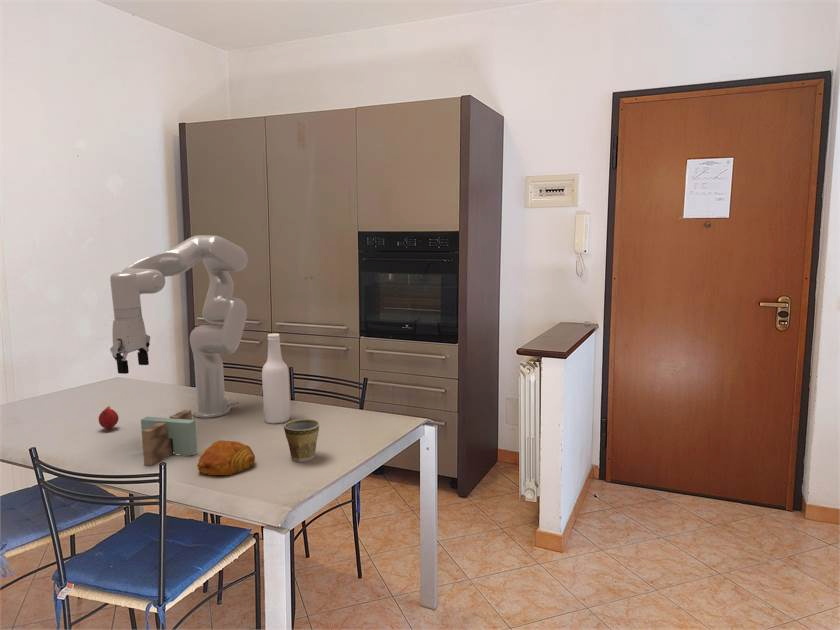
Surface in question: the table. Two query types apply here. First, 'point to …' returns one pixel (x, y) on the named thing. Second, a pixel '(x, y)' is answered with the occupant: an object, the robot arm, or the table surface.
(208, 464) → the croissant
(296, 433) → the ceramic cup
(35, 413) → the table surface
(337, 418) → the table surface
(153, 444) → the walnut slotted plate
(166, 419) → the green slotted plate
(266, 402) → the alcohol
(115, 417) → the onion
